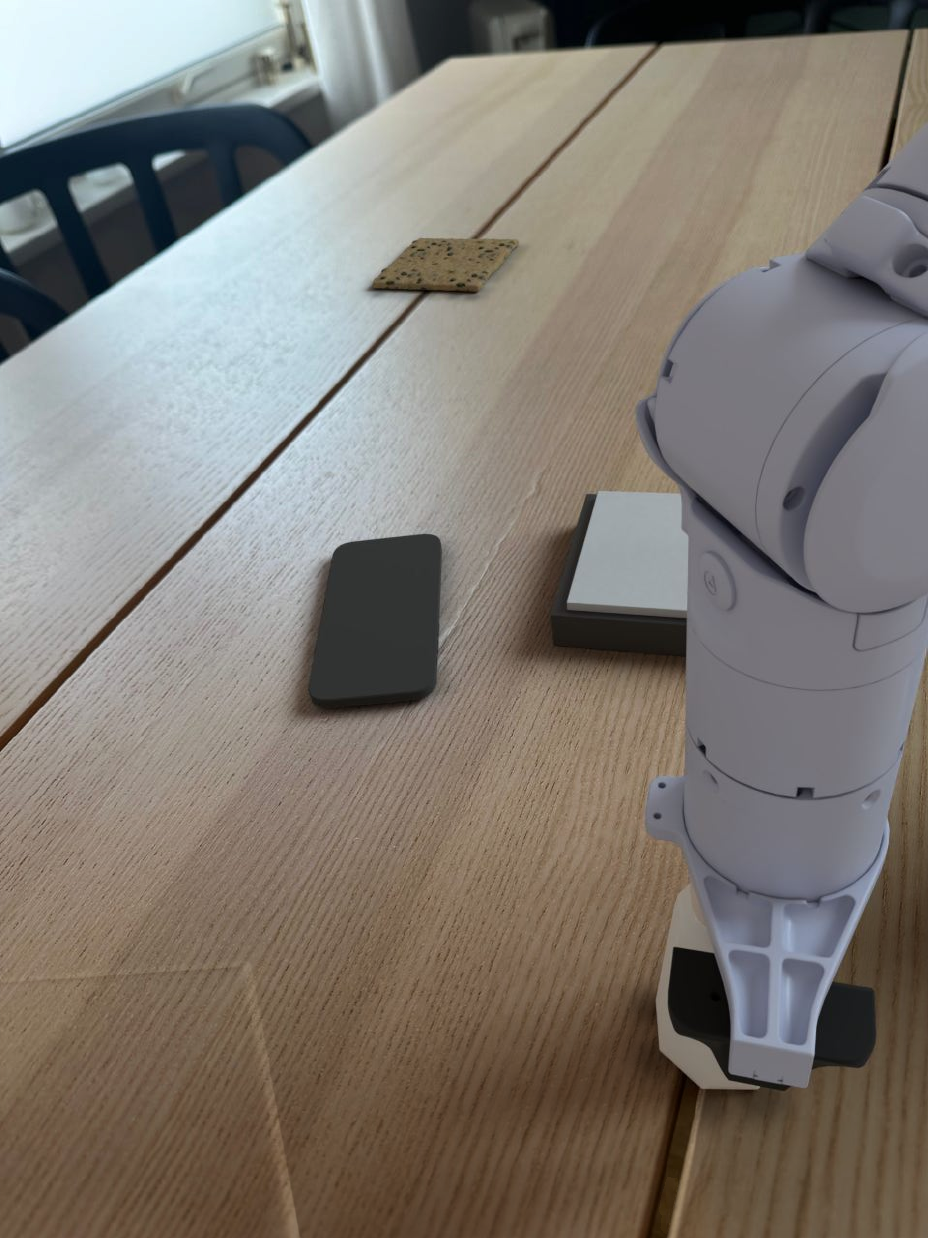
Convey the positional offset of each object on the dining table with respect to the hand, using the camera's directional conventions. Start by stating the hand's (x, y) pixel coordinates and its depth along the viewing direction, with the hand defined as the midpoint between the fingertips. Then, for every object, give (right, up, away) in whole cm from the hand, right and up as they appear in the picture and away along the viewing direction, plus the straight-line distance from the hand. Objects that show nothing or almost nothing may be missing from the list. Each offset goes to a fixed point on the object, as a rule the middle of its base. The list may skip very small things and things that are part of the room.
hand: (761, 970), depth 36 cm
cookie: (-12, +49, +66) cm, 83 cm away
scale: (+3, +15, +24) cm, 28 cm away
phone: (-16, +13, +25) cm, 32 cm away
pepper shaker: (-1, -4, +4) cm, 5 cm away
